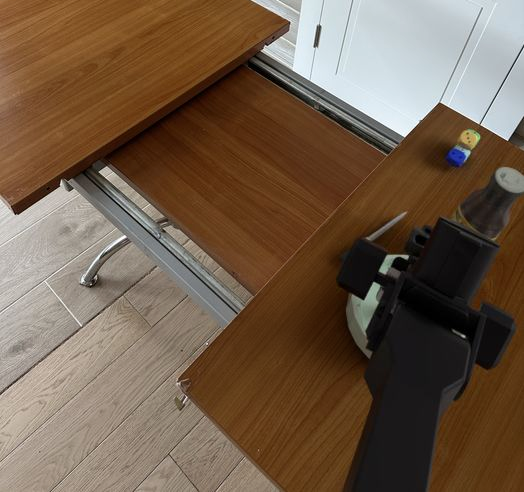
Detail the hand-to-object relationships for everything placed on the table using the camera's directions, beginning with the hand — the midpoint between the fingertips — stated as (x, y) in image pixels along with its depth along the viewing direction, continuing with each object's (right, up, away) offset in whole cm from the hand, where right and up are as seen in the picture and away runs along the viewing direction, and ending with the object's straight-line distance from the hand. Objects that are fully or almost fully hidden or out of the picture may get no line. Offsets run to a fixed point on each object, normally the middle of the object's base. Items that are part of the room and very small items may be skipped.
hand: (422, 283), depth 65 cm
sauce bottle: (+8, 0, +13) cm, 15 cm away
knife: (-3, +3, +14) cm, 15 cm away
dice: (+14, +15, +27) cm, 34 cm away
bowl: (-1, -7, +5) cm, 9 cm away
